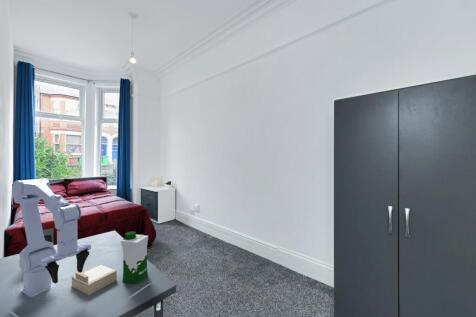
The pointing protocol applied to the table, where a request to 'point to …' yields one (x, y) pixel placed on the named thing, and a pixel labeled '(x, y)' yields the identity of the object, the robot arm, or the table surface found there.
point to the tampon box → (46, 237)
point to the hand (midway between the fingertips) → (67, 276)
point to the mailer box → (95, 282)
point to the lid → (92, 274)
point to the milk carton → (134, 257)
